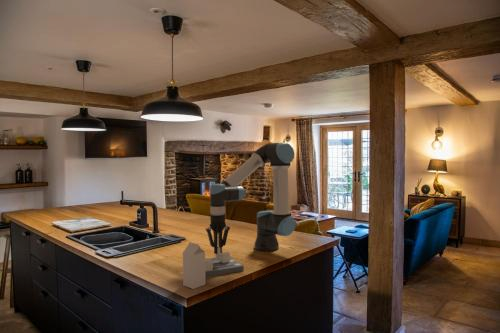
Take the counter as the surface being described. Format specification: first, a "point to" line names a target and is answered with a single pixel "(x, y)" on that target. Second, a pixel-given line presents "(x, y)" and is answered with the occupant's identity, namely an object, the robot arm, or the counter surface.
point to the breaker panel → (221, 267)
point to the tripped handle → (225, 256)
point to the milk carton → (193, 266)
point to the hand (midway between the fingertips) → (218, 259)
